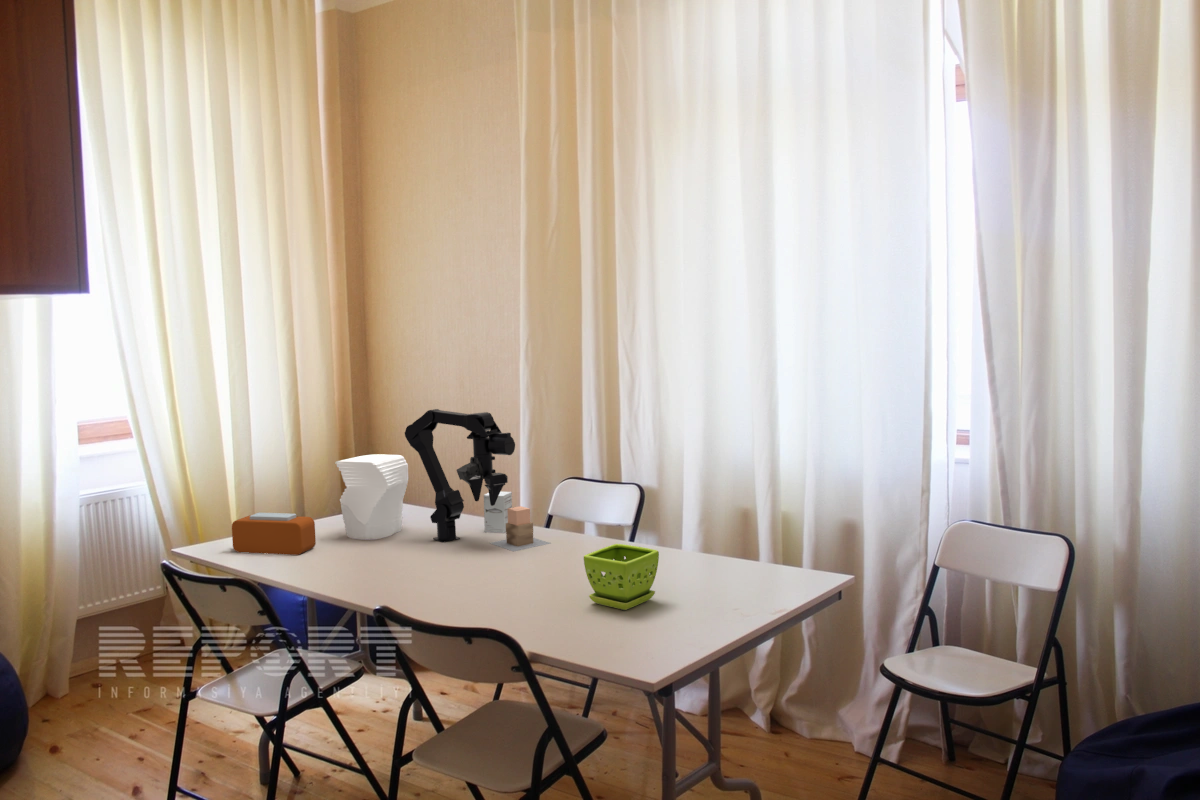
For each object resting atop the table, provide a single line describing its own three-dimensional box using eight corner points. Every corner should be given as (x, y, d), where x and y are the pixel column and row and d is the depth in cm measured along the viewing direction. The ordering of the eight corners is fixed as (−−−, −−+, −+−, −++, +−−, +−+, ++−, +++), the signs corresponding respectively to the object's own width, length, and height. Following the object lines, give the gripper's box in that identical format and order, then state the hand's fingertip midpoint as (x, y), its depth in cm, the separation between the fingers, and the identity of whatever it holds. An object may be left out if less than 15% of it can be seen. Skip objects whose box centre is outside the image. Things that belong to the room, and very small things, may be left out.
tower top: (505, 533, 289) (505, 523, 288) (520, 529, 293) (520, 519, 293) (518, 536, 284) (518, 526, 284) (533, 532, 289) (533, 522, 288)
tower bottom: (506, 543, 289) (506, 532, 289) (522, 539, 293) (522, 529, 293) (517, 546, 285) (516, 536, 284) (533, 543, 289) (533, 533, 288)
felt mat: (488, 543, 290) (488, 542, 290) (525, 536, 299) (525, 535, 299) (513, 552, 279) (513, 551, 279) (551, 544, 288) (551, 543, 288)
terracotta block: (507, 522, 289) (507, 508, 288) (521, 520, 292) (520, 506, 291) (516, 525, 285) (516, 511, 284) (530, 522, 288) (529, 508, 288)
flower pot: (617, 590, 239) (616, 542, 238) (662, 600, 230) (661, 550, 229) (582, 604, 228) (581, 554, 227) (627, 615, 219) (626, 562, 218)
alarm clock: (316, 548, 290) (314, 512, 289) (302, 555, 282) (299, 518, 281) (248, 545, 296) (246, 510, 295) (232, 552, 288) (230, 516, 287)
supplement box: (483, 532, 305) (482, 494, 304) (493, 527, 312) (491, 490, 311) (504, 533, 303) (503, 495, 302) (513, 528, 310) (512, 491, 309)
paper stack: (329, 538, 302) (325, 460, 299) (388, 521, 325) (385, 449, 322) (376, 546, 291) (372, 465, 288) (434, 527, 314) (431, 452, 311)
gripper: (444, 453, 289) (446, 502, 290) (476, 460, 274) (478, 512, 276) (475, 449, 296) (477, 497, 297) (507, 455, 281) (509, 506, 283)
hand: (484, 503), depth 288 cm, fingers open, 9 cm apart
